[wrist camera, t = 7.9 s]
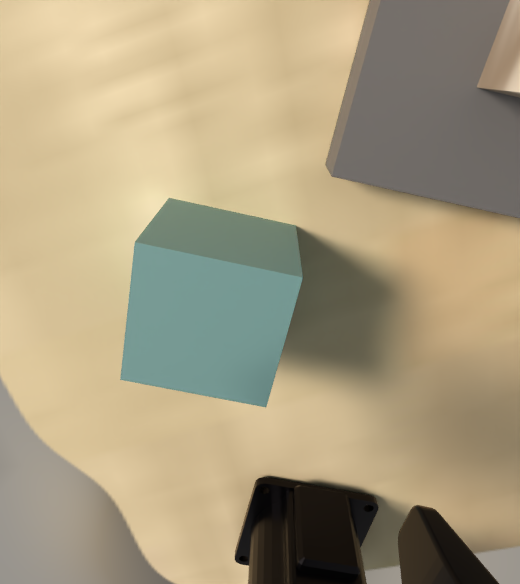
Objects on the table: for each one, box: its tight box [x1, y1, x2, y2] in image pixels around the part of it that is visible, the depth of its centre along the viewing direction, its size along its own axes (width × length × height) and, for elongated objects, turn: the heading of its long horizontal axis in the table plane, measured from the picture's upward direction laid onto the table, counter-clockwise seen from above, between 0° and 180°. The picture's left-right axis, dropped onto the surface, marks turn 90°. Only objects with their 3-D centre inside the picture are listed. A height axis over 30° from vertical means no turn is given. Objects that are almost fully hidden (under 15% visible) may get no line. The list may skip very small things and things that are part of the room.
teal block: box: [120, 198, 303, 407], centre depth 17 cm, size 5×5×5 cm
